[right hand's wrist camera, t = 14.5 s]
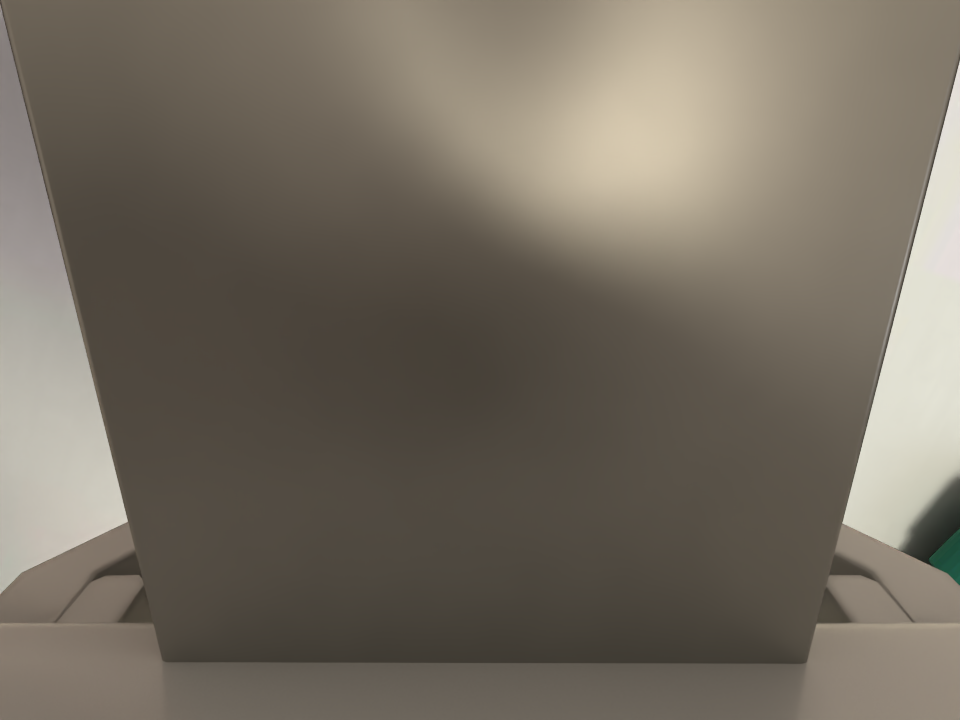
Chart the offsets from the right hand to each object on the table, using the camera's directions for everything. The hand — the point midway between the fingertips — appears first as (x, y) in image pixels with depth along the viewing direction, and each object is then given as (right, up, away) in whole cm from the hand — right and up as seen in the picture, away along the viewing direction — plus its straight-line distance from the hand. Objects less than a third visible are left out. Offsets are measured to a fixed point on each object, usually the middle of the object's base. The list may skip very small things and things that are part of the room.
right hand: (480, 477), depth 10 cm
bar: (0, +10, 0) cm, 10 cm away
